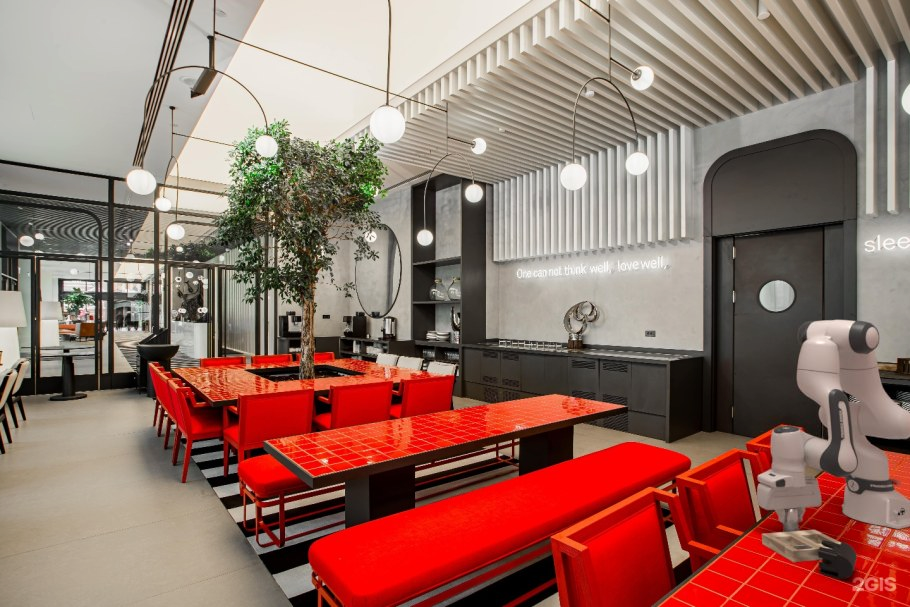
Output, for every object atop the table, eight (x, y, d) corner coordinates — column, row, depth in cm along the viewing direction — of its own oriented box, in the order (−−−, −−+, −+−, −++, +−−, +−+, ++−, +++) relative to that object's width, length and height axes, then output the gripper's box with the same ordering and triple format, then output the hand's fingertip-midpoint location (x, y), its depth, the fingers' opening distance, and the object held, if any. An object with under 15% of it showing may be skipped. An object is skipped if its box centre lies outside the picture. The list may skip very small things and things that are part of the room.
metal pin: (791, 529, 151) (790, 504, 151) (801, 534, 147) (800, 509, 147) (780, 530, 150) (779, 505, 151) (790, 535, 146) (789, 509, 147)
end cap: (853, 584, 119) (852, 557, 119) (818, 574, 124) (817, 548, 124) (857, 570, 126) (856, 544, 126) (824, 560, 131) (823, 536, 131)
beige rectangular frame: (814, 539, 143) (814, 529, 144) (849, 557, 132) (848, 545, 133) (762, 543, 141) (761, 533, 141) (793, 562, 130) (792, 550, 130)
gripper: (808, 472, 154) (810, 515, 153) (752, 476, 151) (754, 519, 150) (826, 479, 147) (828, 523, 147) (768, 482, 145) (770, 527, 144)
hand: (790, 521), depth 149 cm, fingers closed on metal pin, 4 cm apart
